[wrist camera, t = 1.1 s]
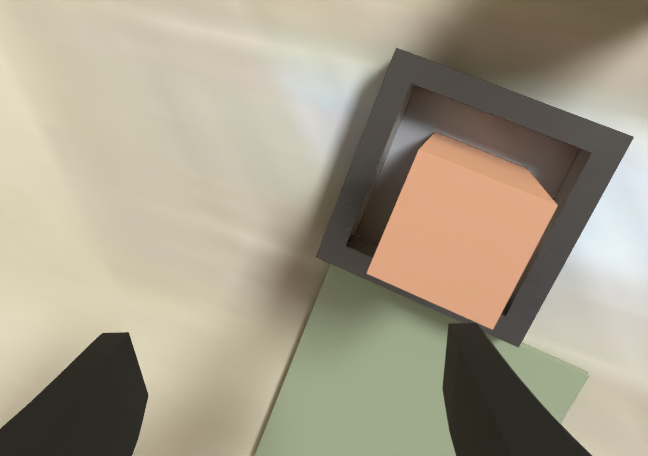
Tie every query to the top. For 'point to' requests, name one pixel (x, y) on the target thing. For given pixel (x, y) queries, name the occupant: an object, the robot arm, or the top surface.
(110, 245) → the top surface
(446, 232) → the peg
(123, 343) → the robot arm
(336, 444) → the rubber mat
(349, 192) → the metal collar
